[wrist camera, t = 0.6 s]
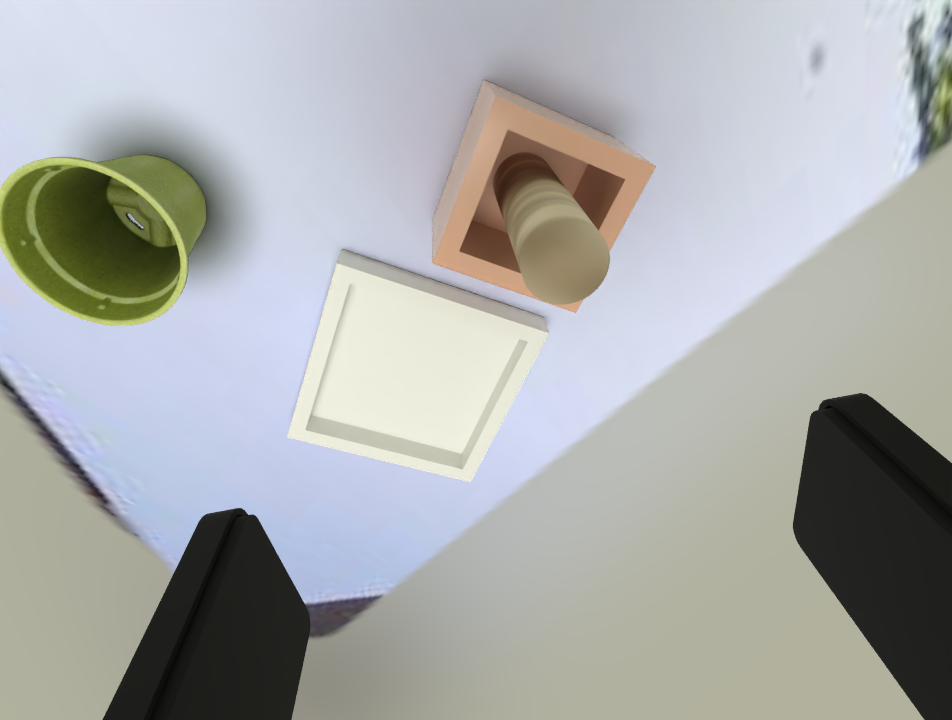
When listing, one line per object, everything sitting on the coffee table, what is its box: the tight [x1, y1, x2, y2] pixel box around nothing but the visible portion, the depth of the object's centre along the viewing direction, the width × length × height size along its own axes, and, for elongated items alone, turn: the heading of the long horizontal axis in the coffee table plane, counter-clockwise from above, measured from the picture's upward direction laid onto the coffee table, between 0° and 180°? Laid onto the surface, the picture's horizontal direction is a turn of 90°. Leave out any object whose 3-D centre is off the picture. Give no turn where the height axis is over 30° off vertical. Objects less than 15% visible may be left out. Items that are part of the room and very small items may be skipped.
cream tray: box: [287, 249, 549, 482], centre depth 44 cm, size 16×16×3 cm
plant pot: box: [0, 155, 206, 326], centre depth 33 cm, size 9×9×9 cm
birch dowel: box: [493, 152, 610, 305], centre depth 31 cm, size 4×4×14 cm
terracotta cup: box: [432, 80, 656, 313], centre depth 34 cm, size 9×9×8 cm
